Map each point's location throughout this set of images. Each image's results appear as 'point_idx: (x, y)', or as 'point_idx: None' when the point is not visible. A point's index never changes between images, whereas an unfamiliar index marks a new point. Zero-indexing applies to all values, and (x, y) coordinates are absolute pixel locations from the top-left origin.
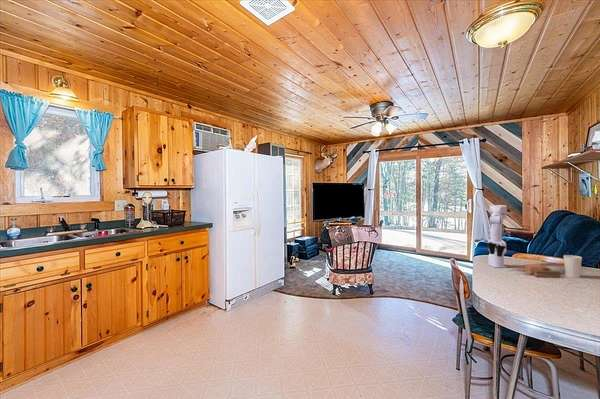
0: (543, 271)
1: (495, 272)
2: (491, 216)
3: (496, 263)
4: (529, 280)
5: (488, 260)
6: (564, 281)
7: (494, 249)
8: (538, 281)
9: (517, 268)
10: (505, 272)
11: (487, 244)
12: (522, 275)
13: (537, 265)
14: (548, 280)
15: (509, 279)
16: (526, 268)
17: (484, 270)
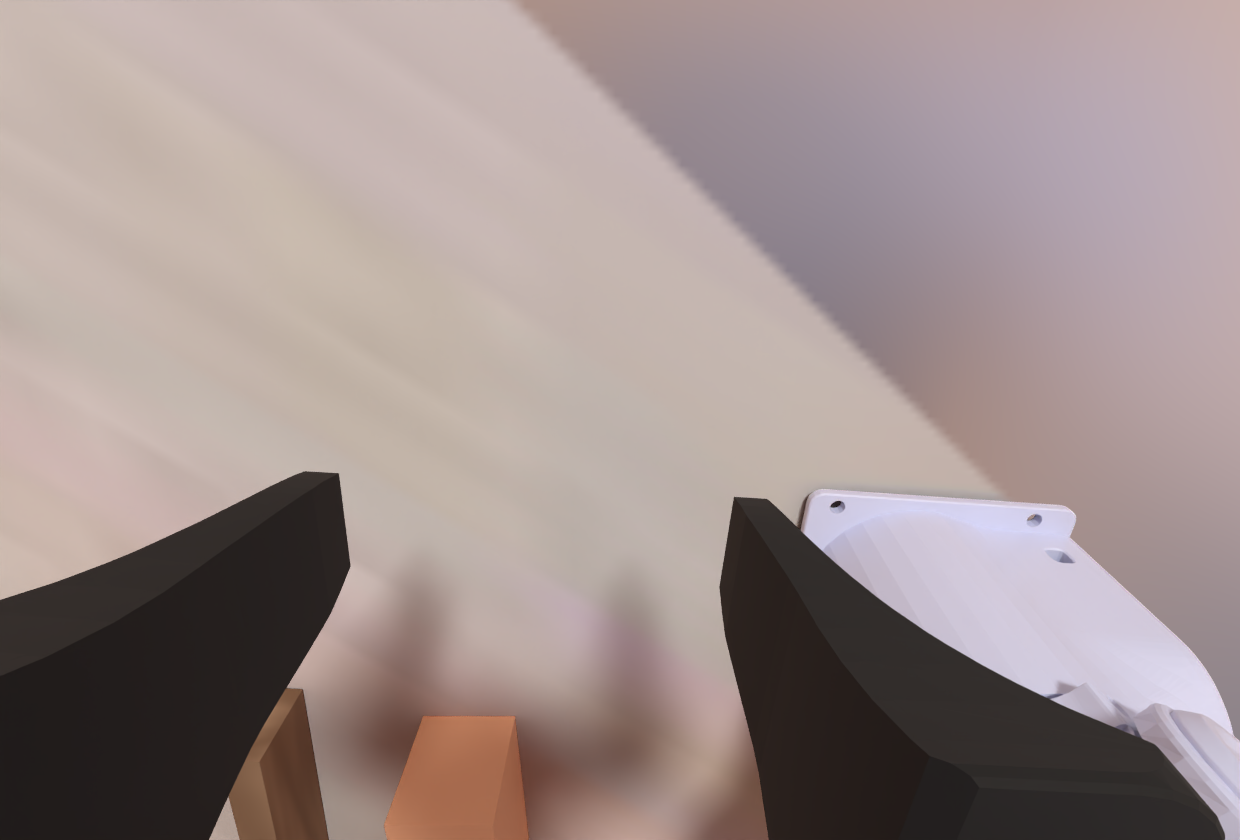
0: (238, 829)
1: (489, 289)
2: None
3: (854, 572)
4: (60, 507)
5: (1106, 573)
6: None
7: (757, 737)
8: (43, 584)
9: (726, 752)
10: (497, 462)
11: (1030, 740)
12: None
13: None
14: None
15: (19, 234)
16: (480, 773)
17: (642, 156)
